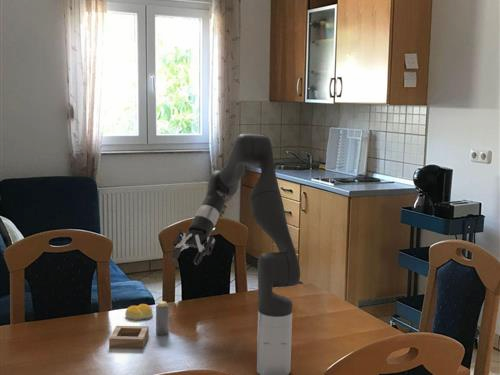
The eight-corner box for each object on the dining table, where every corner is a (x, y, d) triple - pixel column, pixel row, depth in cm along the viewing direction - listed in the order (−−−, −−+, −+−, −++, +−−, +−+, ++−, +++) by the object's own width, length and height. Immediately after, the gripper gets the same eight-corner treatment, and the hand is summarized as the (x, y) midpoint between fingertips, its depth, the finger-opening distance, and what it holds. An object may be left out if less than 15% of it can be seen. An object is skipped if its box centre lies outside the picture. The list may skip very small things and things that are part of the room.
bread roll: (123, 314, 203) (122, 303, 203) (148, 311, 207) (148, 299, 206) (128, 322, 196) (128, 310, 195) (155, 318, 199) (155, 307, 199)
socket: (143, 348, 175) (142, 339, 174) (109, 348, 175) (109, 338, 174) (148, 335, 185) (148, 326, 184) (116, 334, 185) (116, 325, 184)
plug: (167, 335, 185) (167, 305, 183) (155, 335, 185) (155, 304, 183) (169, 331, 189) (169, 300, 187) (157, 330, 189) (156, 300, 187)
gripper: (183, 212, 203) (162, 252, 195) (218, 217, 196) (198, 258, 188) (192, 224, 208) (172, 264, 200) (226, 230, 201) (207, 271, 193)
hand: (184, 261), depth 194 cm, fingers open, 8 cm apart
